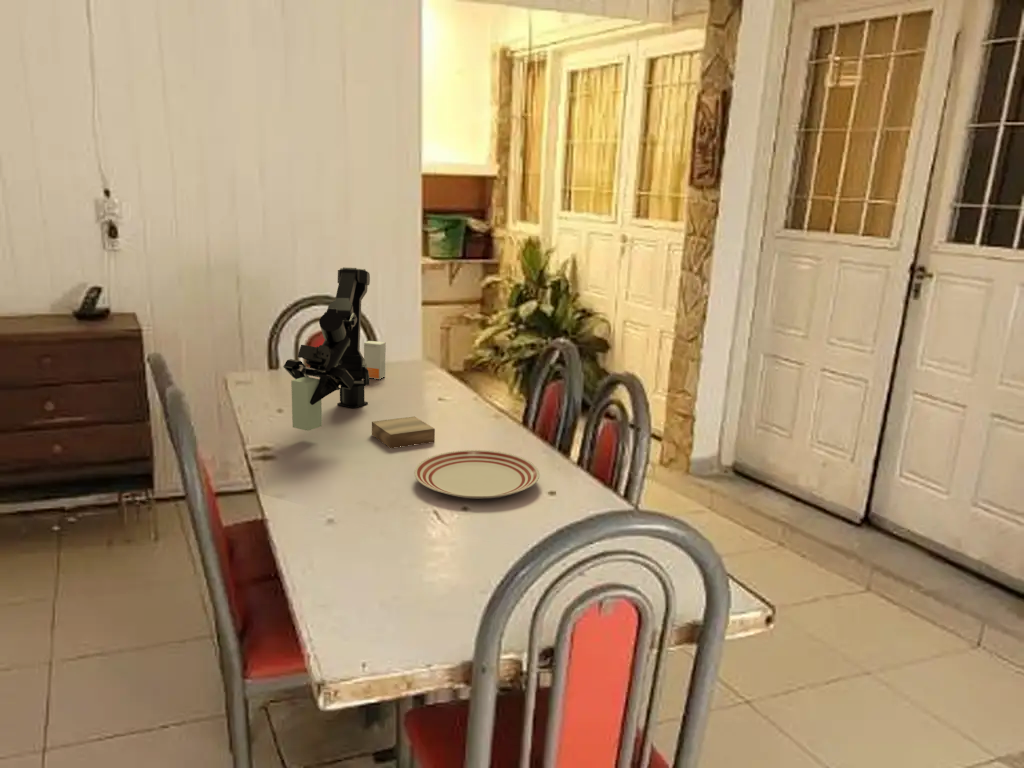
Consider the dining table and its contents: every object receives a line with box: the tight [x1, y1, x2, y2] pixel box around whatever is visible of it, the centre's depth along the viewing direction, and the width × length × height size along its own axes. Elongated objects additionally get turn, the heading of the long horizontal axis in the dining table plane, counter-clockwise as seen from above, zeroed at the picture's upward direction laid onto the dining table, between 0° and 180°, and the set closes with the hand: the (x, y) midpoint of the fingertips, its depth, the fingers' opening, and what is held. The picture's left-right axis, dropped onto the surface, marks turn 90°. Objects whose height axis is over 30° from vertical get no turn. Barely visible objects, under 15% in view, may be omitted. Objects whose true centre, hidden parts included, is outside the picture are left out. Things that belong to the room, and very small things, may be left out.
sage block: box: [290, 376, 323, 432], centre depth 202 cm, size 5×5×12 cm
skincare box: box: [363, 340, 387, 380], centre depth 269 cm, size 6×4×12 cm
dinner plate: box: [413, 449, 541, 500], centre depth 180 cm, size 28×27×3 cm
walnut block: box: [371, 416, 436, 449], centre depth 208 cm, size 12×12×4 cm
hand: (302, 402), depth 201 cm, fingers closed on sage block, 5 cm apart
